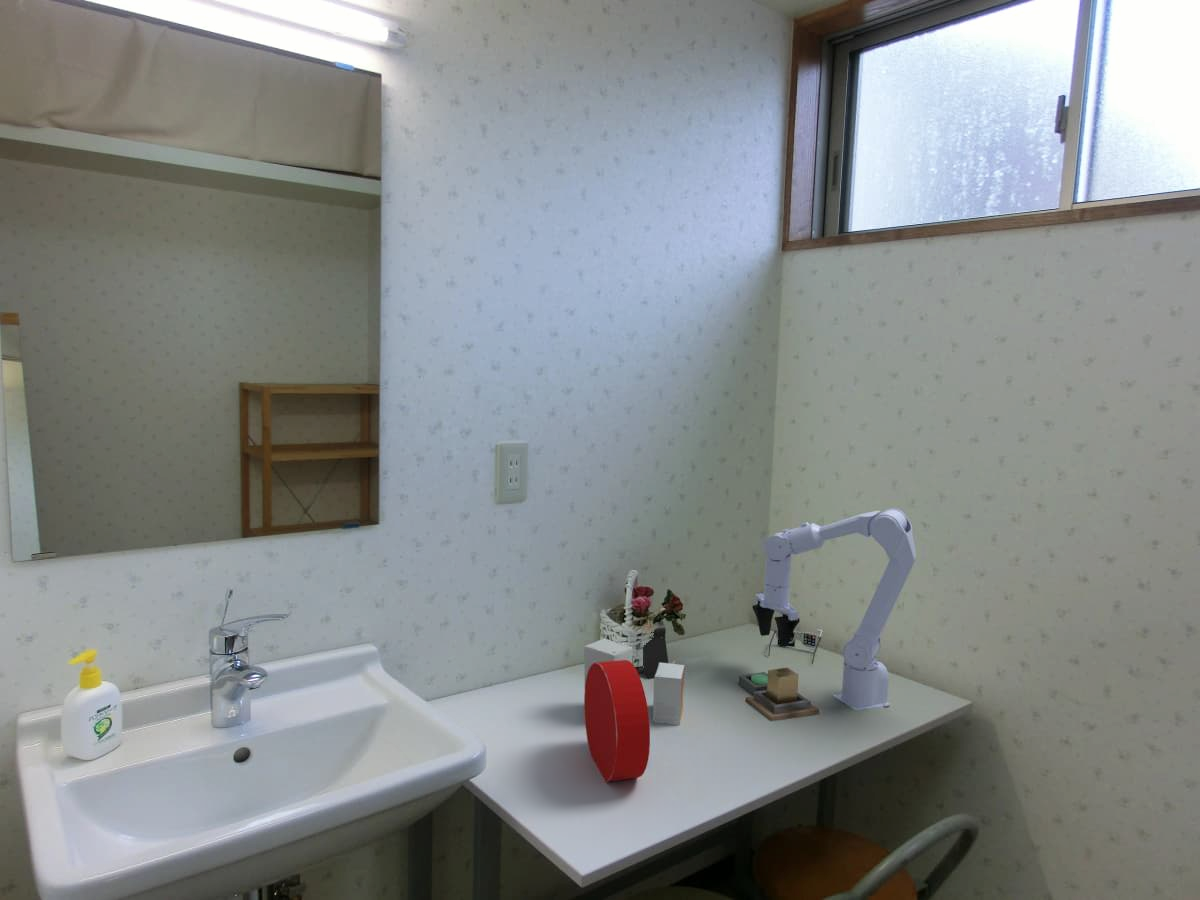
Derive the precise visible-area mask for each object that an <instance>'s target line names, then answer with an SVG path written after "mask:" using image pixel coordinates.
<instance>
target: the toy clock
mask: <svg viewBox="0 0 1200 900" xmlns="http://www.w3.org/2000/svg"><path fill="white" fill-rule="evenodd" d="M583 697H584V698H583V699H584V700H583V701H584V702H583V703H584V705H583V708H584V724H585V732H586V739H587V746H588V750H589V754H590V756H591V759H592V760H593V761H594V763H595V766H596V767H597V769H598V770H599V772H600V773H599V774H601V776H602V778H603V780H604V782H605V783H609V782H615V781H616V782H617V781H623V780H629V779H630V780H631V779H638V778H640V777H642V776H643V774H644V773H645V771H646V769H647V766H648V762H649V756H650V747H651V729H650V728H651V727H650V716H649V715H650V714H649V707H648V702H647V697H646V693H645V689H644V686H643V681H642V680H641V675H640V674H639V671H638V670H637V668H635V667H634V665H633V664H632V663H631V662H630V661H628V660H619V661H607V662H595V663H593V664H592V665H591V666H590V668H589V670H588V673H587V677H586V683H585V682H584V695H583Z"/></svg>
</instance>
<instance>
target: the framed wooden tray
mask: <svg viewBox="0 0 1200 900" xmlns="http://www.w3.org/2000/svg"><path fill="white" fill-rule="evenodd" d="M744 701H745V702H747V704H748V705H750V706H751V707H753V708H754V709H755V710H756V711H758V712H759V713H760V714H762V715H763V716H764V717H766V718H767V719H768V720H770V721H771V722H772V721H773V722H775V721H780V720H781V721H782V720H788V719H795V718H796V719H797V718H802V717H803V718H804V717H809V716H815V715H819V714H820V708H818V707H817V706H815V705H813V704H812V701H811V700H809V699H808V698H806V697H805V696H803V695H802V694H801V693H799V692H797V702H790V703H784V704H778V705H776V704H775V703H774V702H772V701H771V700H770V699H768V698H767V690H764V691H757V692H754V695H753V696H752V695H751V696H748V697H745V700H744Z"/></svg>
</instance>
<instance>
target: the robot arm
mask: <svg viewBox="0 0 1200 900" xmlns="http://www.w3.org/2000/svg"><path fill="white" fill-rule="evenodd" d="M880 512H881V513H880ZM879 513H880V514H879ZM854 534H860V535H861V536H864V537H866V538H869V537H870V536H871V537H872V538H873V539H874V540H875V541H876V542H877V543H878V544H879V546H881V547H882V548H883V549H884V551H885V553H886V555H887V557H888V558H889V561H888V563H887V566H886V567H885V570H884V571H883V573H882V574H883V575H882V577H881V578H880V580H879V582H878V584H877V587H876V589H875V591H874V593H873V596H872V597H871V600H870V603H869V605H868V607H867V609H866V611H865V613H864V615H863V617H862V620H861V622H860V624H859V626H858V628H857V630H856V631H855V632H854V633H853V636H852V637H851V638H850V639H849V641H847V642H846V643H845V645H843V648H842V656H843V660H844V661H843V671H842V672H843V673H842V688H841V689H842V690H841V693H837V694H833V697H834V698H836V699H837V700H839V701H841V702H842V703H844V704H845V705H847V706H849V707H850V708H852V709H854V710H855V711H860V710H865V709H871V708H878V707H883V708H886V707H890V705H891V703H889V702H888V697H889V696H888V695H889V679H890V677H889V676H890V675H889V672H888V669H887V667H886V665H885V664H884V663H882V662H881V661H878V659H877V658H876V655H877V654H878V653H879V652H880V651H881V648H882V643H881V637H882V636H883V633H884V628H885V626H886V624H887V622H888V620H889V617H890V615H891V613H892V611H893V609H894V607H895V605H896V602H897V601H898V600H899V599H898V598H899V597H900V594H901V593H902V590H903V588H904V586H905V583H906V581H907V579H908V577H909V575H910V572H911V571H912V569H913V566H914V564H915V562H916V559H917V552H916V547H915V542H914V535H913V525H912V523H911V521H910V520H909V518H908V516H907V515H906V514H905V513H904V512H903V511H902V510H901V509H898V508H895V507H893V508H886V509H884V510H883V511H881V510H874V511H869V512H865V513H864V512H863V513H861V514H857V515H854V516H852V517H848V518H845V519H842V520H839V521H836V522H833V523H829V524H826V525H823V526H821V525H818V524H816V523H809V522H808V521H807V522H803V523H801V526H799V527H796V528H791V529H788V528H785V529H782V532H777V533H775V534H772V535H771V536H769V537H768V538H766V539H765V541H764V542H763V551H764V554H765V557H766V558H765V559H766V560H765V569H764V571H765V574H764V587H763V588H764V591H763V593H756V594H755V595H754V597H755V598H754V602H755V603H757V604H755V605H754V604H753V605H752V611H753V612H754V615H755V617H756V619H757V625H758V629H759V630H758V631H759V634H760V636H761V637H765V636H769V635H770V633H771V628H772V621H773V617H774V614H775V612H777V613H779V614H780V615H781V616H775V617H774V621H775V624H776V627H777V628H776V629H778V640H777V644H778V643H779V645H778V647H779V648H785V647H789V646H788V644H789V641H790V638H791V635H792V633H793V631H795V629H796V627H797V626H798V624H800V620H801V619H800V618H799V611H798V610H796V609H795V607H793V606H792V605H791V603H790V590H791V589H790V586H791V570H792V569H791V568H792V565H791V563H792V555H798V554H802V553H806V552H810V551H813V550H816V549H820V548H822V547H823V546H824V544H825V541H829V540H832V539H836V538H840V537H845V536H850V535H854Z"/></svg>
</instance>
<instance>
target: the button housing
mask: <svg viewBox="0 0 1200 900" xmlns="http://www.w3.org/2000/svg"><path fill="white" fill-rule="evenodd" d="M753 674H764V675H767V676H768V672H765V671H761V672H754V673H748V674H741V675H738V682H737V683H738V685H739V686H740V687H742V688H744V689H745V690H746V691H747V692H749V693H750V694H751V695H753V696H754V692H757V691H764V690H767V684H762V685H756V684H754V683H753V682H752V681H751V676H752V675H753Z"/></svg>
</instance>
